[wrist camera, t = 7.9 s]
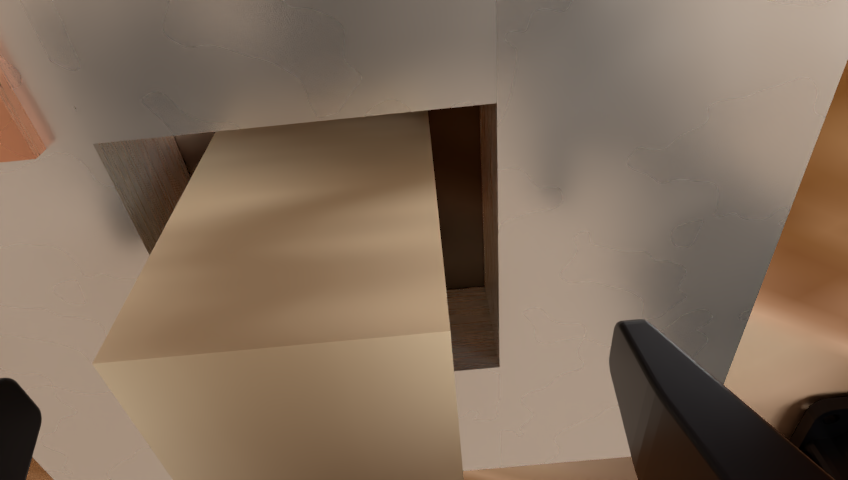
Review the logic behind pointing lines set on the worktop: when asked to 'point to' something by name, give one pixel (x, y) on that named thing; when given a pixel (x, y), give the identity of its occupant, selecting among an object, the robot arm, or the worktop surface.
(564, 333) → the plate
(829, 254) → the worktop surface
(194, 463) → the peg
